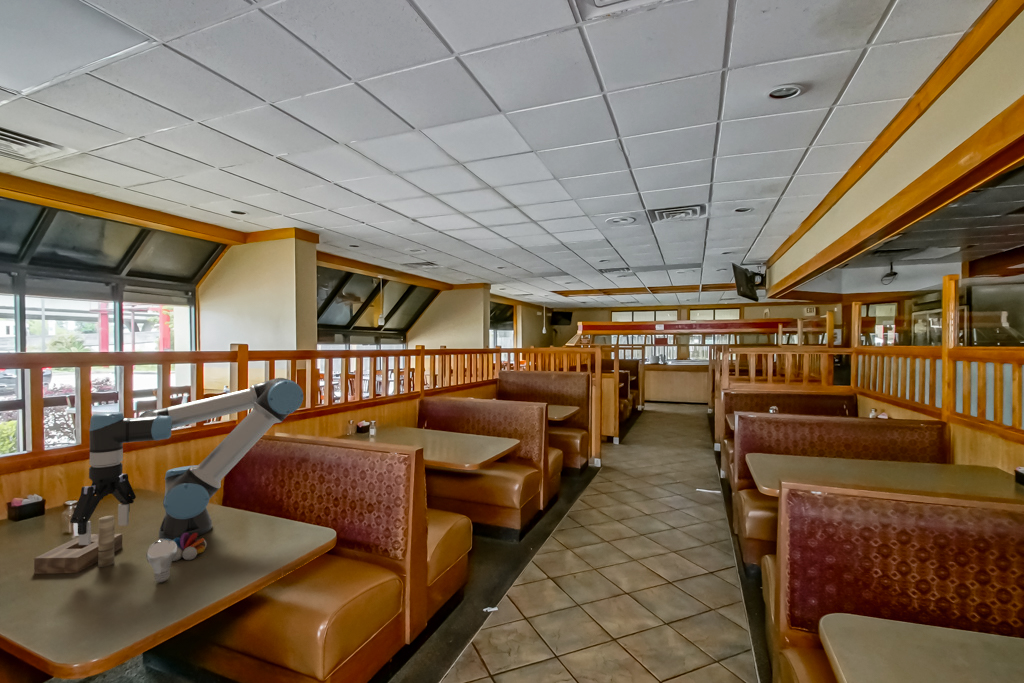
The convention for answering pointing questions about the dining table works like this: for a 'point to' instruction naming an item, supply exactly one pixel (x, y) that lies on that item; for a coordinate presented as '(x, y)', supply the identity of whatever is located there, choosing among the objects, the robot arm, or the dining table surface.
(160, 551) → the light bulb
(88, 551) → the board
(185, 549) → the rainbow fan toy
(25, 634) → the dining table surface
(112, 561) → the dowel
